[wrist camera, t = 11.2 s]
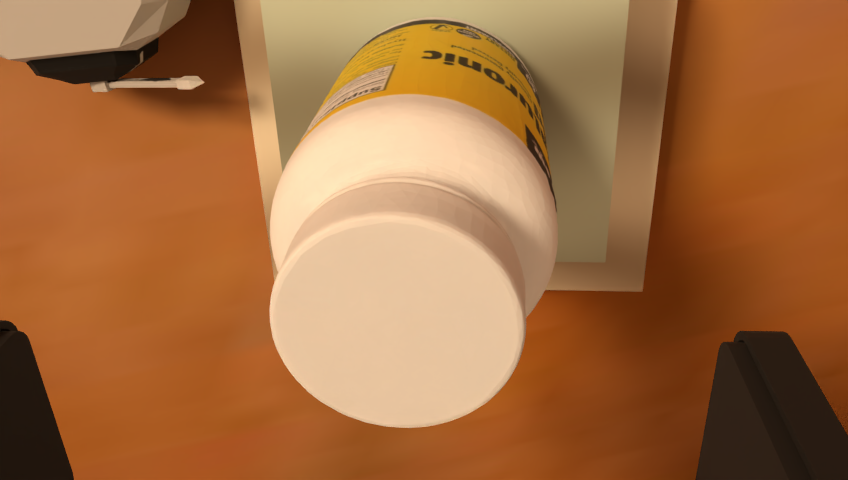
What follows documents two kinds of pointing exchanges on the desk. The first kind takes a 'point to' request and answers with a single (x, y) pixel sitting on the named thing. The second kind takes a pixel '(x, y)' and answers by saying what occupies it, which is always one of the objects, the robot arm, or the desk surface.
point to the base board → (627, 145)
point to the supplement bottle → (414, 227)
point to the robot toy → (90, 39)
